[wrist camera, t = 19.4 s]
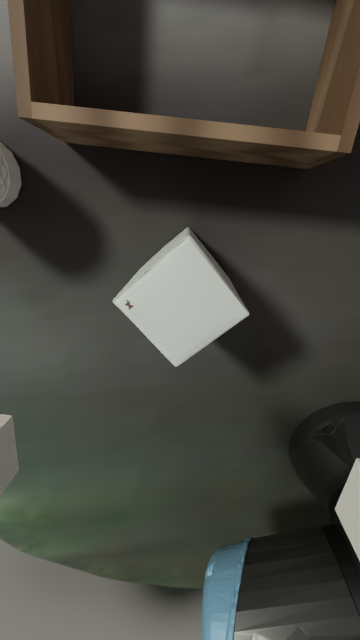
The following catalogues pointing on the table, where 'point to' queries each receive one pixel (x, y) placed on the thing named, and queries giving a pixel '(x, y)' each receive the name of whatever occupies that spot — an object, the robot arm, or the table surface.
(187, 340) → the supplement box
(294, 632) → the robot arm
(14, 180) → the white cup
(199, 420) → the table surface
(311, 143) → the walnut bin
